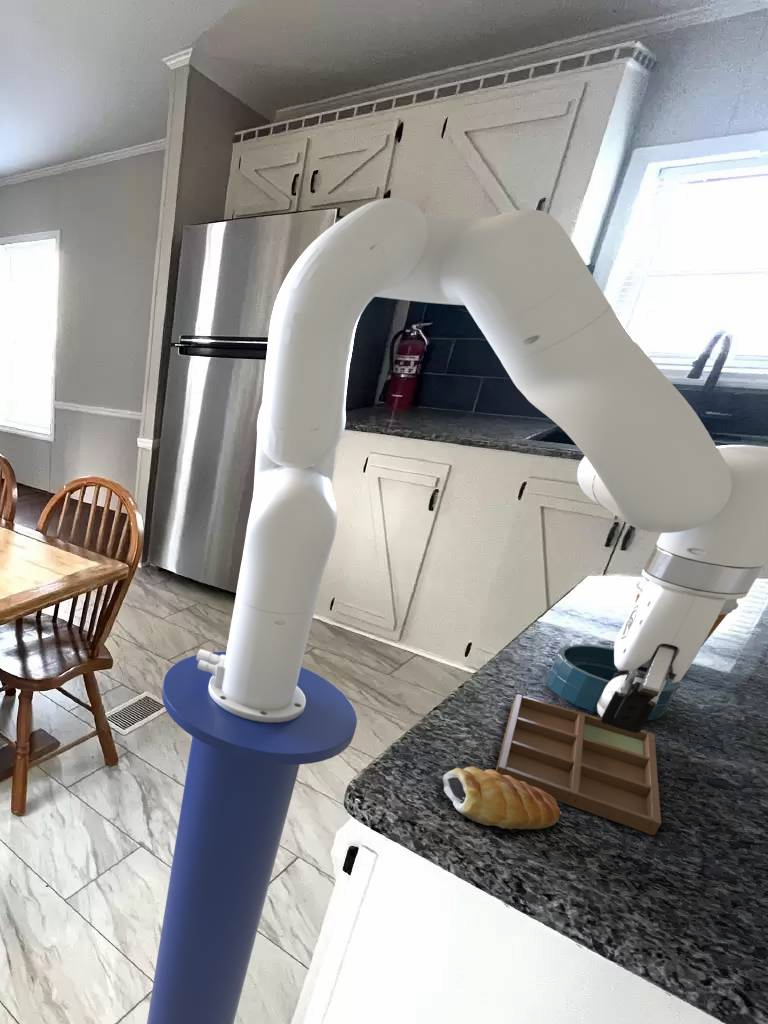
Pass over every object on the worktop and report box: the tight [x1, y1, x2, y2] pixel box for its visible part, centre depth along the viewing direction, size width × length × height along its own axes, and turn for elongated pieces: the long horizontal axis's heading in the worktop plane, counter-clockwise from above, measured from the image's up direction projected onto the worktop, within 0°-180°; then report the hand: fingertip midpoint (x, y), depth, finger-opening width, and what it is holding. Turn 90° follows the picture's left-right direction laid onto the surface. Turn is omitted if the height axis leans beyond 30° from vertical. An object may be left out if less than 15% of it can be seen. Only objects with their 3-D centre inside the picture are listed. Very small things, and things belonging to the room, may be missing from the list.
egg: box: [597, 674, 659, 718], centre depth 71 cm, size 4×4×6 cm
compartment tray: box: [495, 693, 662, 836], centre depth 71 cm, size 13×19×2 cm
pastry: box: [442, 765, 561, 831], centre depth 65 cm, size 9×7×4 cm
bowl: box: [545, 643, 681, 722], centre depth 81 cm, size 11×11×5 cm
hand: (619, 715), depth 72 cm, fingers closed on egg, 4 cm apart
